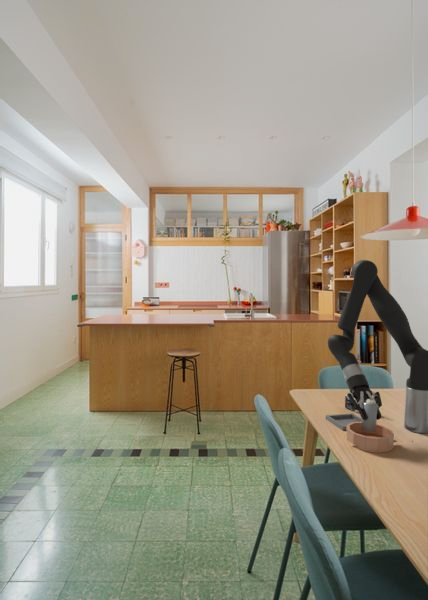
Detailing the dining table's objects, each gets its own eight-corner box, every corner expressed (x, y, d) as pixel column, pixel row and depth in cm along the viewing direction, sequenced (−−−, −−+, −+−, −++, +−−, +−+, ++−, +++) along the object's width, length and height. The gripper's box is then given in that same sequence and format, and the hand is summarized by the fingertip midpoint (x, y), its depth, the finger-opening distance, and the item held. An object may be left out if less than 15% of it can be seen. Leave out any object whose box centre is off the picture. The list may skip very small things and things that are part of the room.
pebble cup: (370, 426, 152) (372, 397, 151) (378, 431, 147) (380, 401, 146) (358, 427, 150) (360, 397, 150) (366, 432, 146) (368, 402, 145)
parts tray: (352, 418, 174) (352, 413, 174) (371, 430, 161) (371, 424, 161) (325, 421, 170) (325, 415, 170) (342, 432, 158) (342, 426, 158)
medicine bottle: (344, 409, 186) (345, 384, 185) (356, 408, 188) (358, 383, 188) (354, 414, 179) (356, 388, 178) (367, 413, 182) (368, 387, 181)
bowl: (373, 432, 159) (374, 420, 158) (402, 450, 143) (403, 436, 143) (338, 436, 155) (338, 423, 154) (363, 454, 139) (363, 440, 139)
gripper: (343, 373, 153) (360, 415, 142) (375, 372, 156) (394, 413, 146) (334, 383, 158) (350, 424, 147) (366, 382, 162) (384, 422, 151)
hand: (372, 418), depth 147 cm, fingers closed on pebble cup, 5 cm apart
